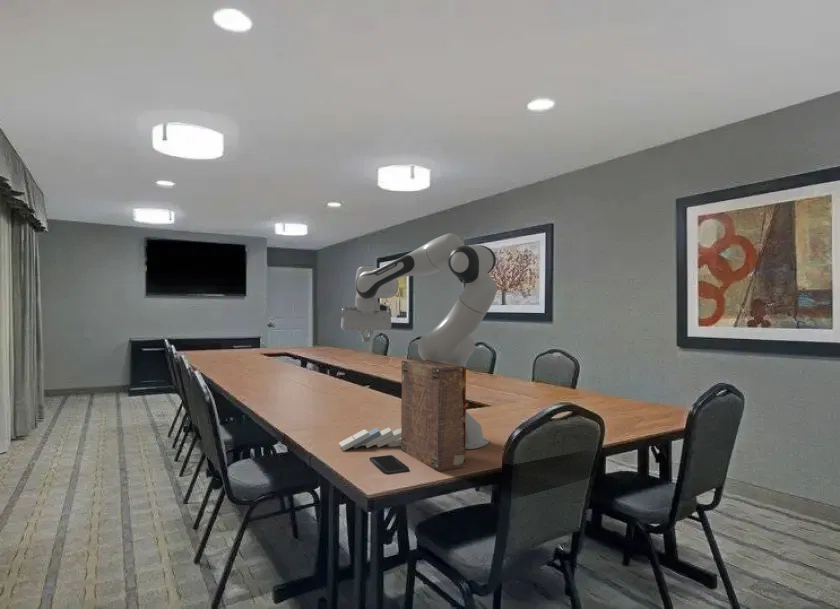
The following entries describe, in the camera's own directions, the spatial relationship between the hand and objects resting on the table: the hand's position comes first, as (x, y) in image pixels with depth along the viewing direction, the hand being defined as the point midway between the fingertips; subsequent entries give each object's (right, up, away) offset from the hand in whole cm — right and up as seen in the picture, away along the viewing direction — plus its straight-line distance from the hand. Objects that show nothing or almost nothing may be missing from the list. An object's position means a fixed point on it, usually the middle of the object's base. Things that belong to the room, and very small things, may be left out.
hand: (366, 341), depth 201 cm
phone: (+12, -34, -48) cm, 60 cm away
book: (+25, -34, -41) cm, 59 cm away
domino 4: (+6, -33, -26) cm, 43 cm away
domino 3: (+2, -33, -27) cm, 43 cm away
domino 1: (-5, -33, -31) cm, 45 cm away
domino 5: (+10, -33, -25) cm, 43 cm away
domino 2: (-2, -33, -28) cm, 43 cm away
